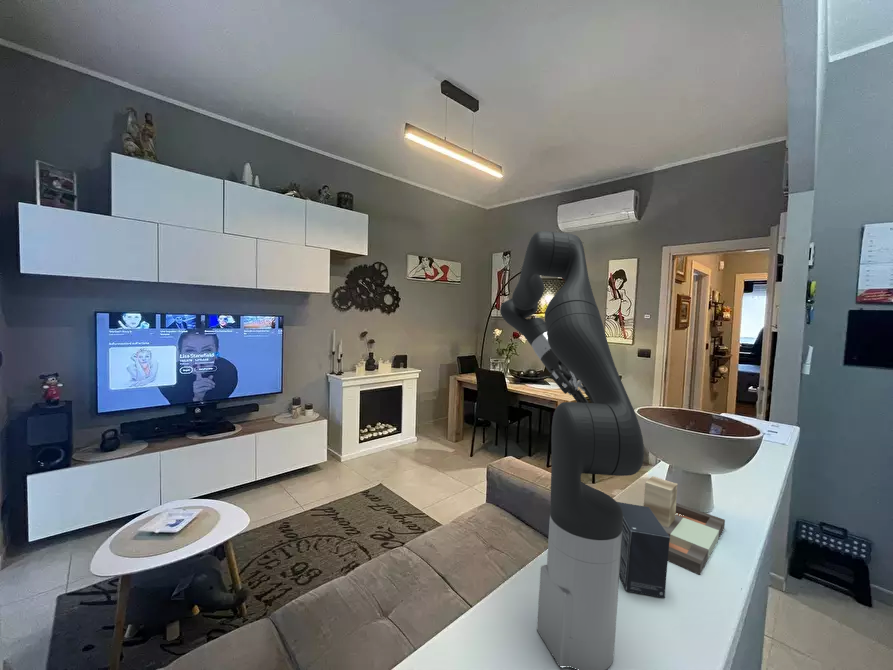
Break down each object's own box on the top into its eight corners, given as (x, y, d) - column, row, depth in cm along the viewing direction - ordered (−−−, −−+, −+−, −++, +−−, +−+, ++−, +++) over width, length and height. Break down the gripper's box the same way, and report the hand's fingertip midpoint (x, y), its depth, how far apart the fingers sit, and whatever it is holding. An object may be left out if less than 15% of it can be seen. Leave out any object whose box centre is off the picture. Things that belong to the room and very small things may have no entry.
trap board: (699, 575, 66) (700, 564, 66) (624, 541, 75) (624, 531, 75) (724, 528, 82) (725, 519, 82) (659, 505, 91) (660, 497, 91)
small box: (668, 600, 60) (672, 537, 59) (625, 592, 61) (629, 530, 60) (646, 559, 70) (650, 505, 69) (610, 553, 71) (613, 500, 71)
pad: (707, 559, 70) (708, 549, 70) (669, 543, 75) (670, 534, 75) (718, 539, 77) (719, 530, 77) (682, 526, 82) (683, 517, 82)
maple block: (668, 527, 78) (671, 490, 77) (642, 517, 81) (645, 482, 81) (675, 519, 81) (677, 483, 81) (650, 510, 85) (652, 476, 84)
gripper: (546, 343, 93) (589, 398, 85) (574, 342, 103) (614, 391, 95) (527, 361, 97) (566, 415, 89) (555, 359, 107) (593, 407, 99)
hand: (591, 403), depth 92 cm, fingers open, 6 cm apart
